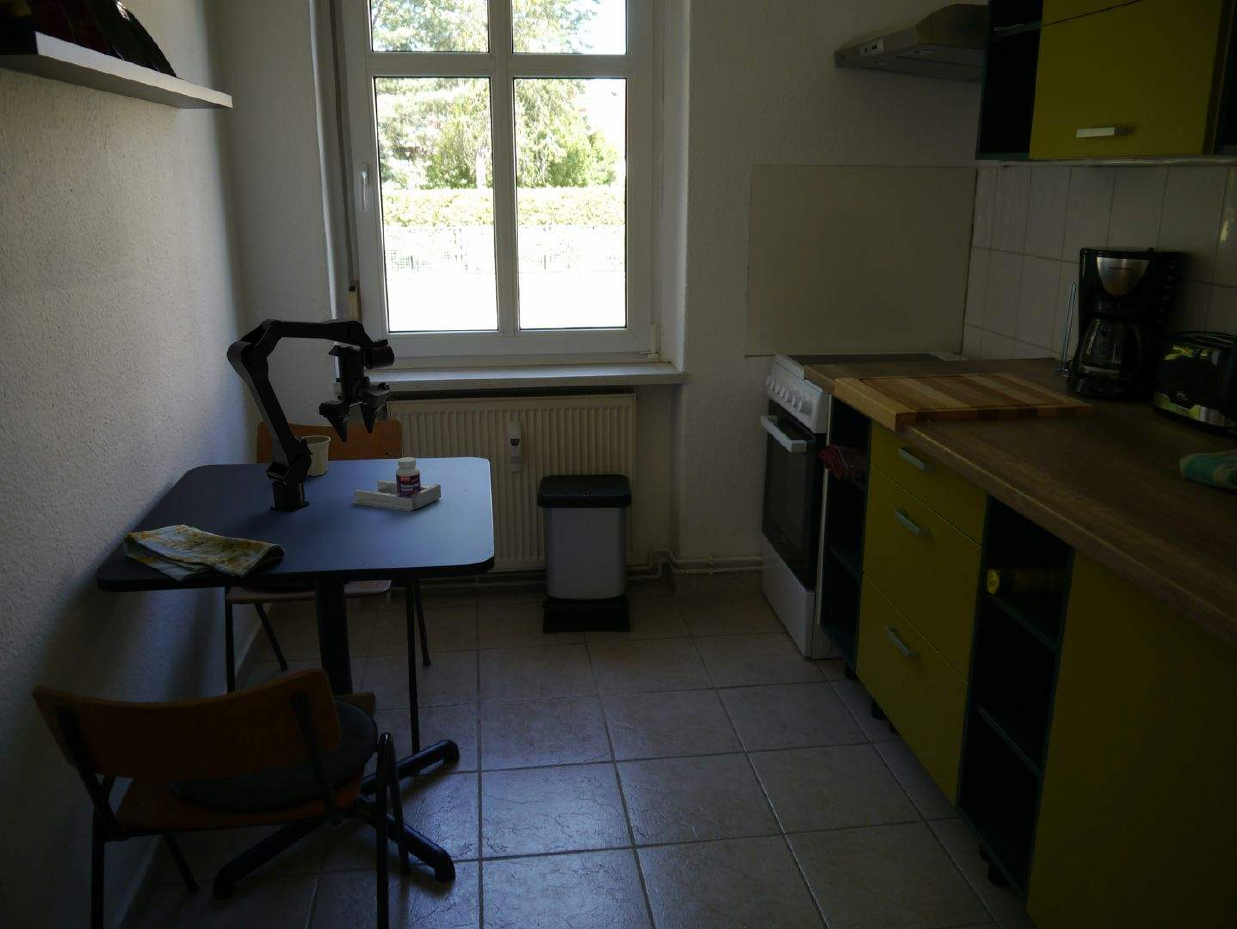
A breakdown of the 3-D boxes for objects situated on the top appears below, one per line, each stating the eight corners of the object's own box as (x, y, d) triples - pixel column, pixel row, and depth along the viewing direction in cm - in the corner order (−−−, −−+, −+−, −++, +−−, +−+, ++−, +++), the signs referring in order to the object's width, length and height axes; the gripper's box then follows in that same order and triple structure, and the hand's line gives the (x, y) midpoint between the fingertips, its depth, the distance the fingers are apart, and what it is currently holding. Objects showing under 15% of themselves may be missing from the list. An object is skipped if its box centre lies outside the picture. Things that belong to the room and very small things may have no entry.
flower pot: (287, 475, 260) (283, 442, 257) (313, 466, 268) (310, 434, 265) (315, 480, 256) (311, 446, 253) (341, 470, 264) (338, 437, 261)
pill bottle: (400, 505, 233) (397, 463, 230) (395, 498, 237) (392, 457, 235) (424, 501, 235) (421, 460, 232) (418, 495, 239) (415, 455, 237)
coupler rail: (414, 512, 229) (413, 497, 228) (353, 503, 236) (351, 488, 235) (443, 498, 239) (442, 483, 238) (383, 490, 246) (382, 475, 245)
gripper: (353, 382, 229) (359, 450, 233) (404, 368, 245) (409, 431, 249) (313, 379, 234) (320, 445, 238) (366, 365, 250) (372, 427, 254)
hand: (357, 437), depth 245 cm, fingers open, 9 cm apart
